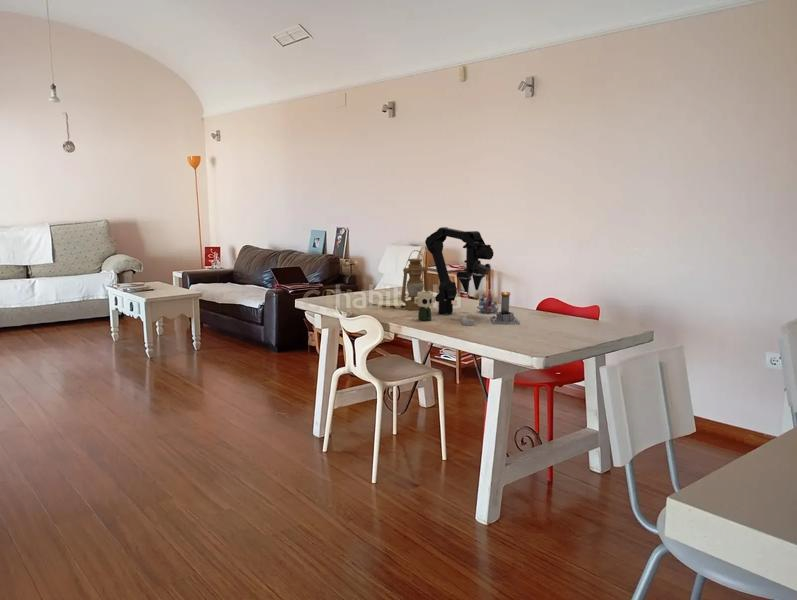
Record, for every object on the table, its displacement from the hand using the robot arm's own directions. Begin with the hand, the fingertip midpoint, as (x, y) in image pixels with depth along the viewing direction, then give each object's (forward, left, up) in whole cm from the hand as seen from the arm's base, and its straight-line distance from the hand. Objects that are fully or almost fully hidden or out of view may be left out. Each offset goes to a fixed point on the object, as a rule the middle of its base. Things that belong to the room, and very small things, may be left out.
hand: (471, 291), depth 303 cm
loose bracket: (-3, -13, -13) cm, 19 cm away
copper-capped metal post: (+15, -7, -12) cm, 20 cm away
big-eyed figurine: (-22, -5, -13) cm, 26 cm away
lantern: (-27, +25, -13) cm, 39 cm away
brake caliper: (+9, +17, -13) cm, 24 cm away
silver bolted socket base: (+15, -7, -13) cm, 21 cm away
